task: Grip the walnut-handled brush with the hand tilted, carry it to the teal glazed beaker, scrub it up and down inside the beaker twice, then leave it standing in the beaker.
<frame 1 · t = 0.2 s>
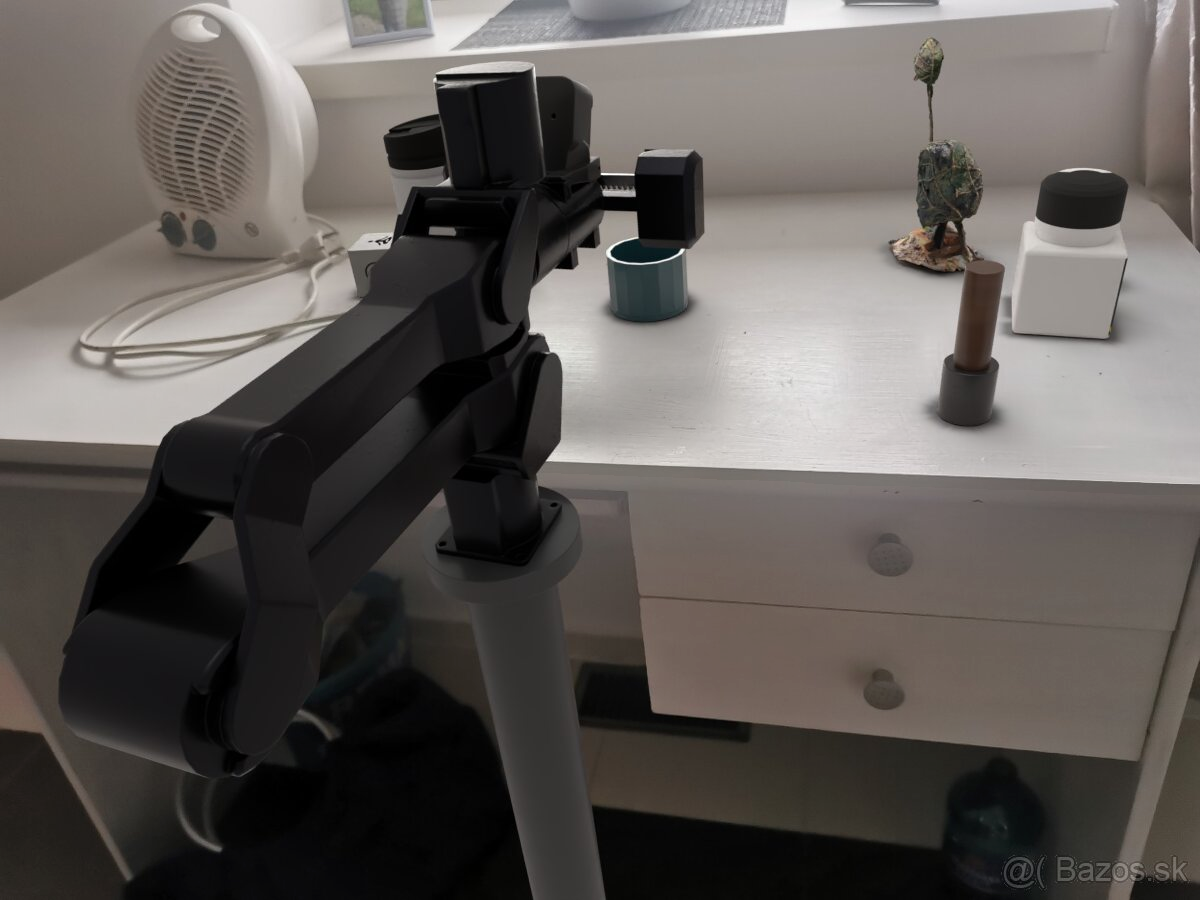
hand: (612, 165, 70), 16 cm above the table, tool horizontal, fingers open, 9 cm apart
rook chess piece: (1088, 285, 81), on the table
beaker: (649, 305, 86), on the table
dice cube: (389, 288, 96), on the table
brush: (963, 413, 65), on the table
plant with pod: (936, 262, 88), on the table
travel mug: (465, 348, 82), on the table
medicine bottle: (1057, 321, 76), on the table
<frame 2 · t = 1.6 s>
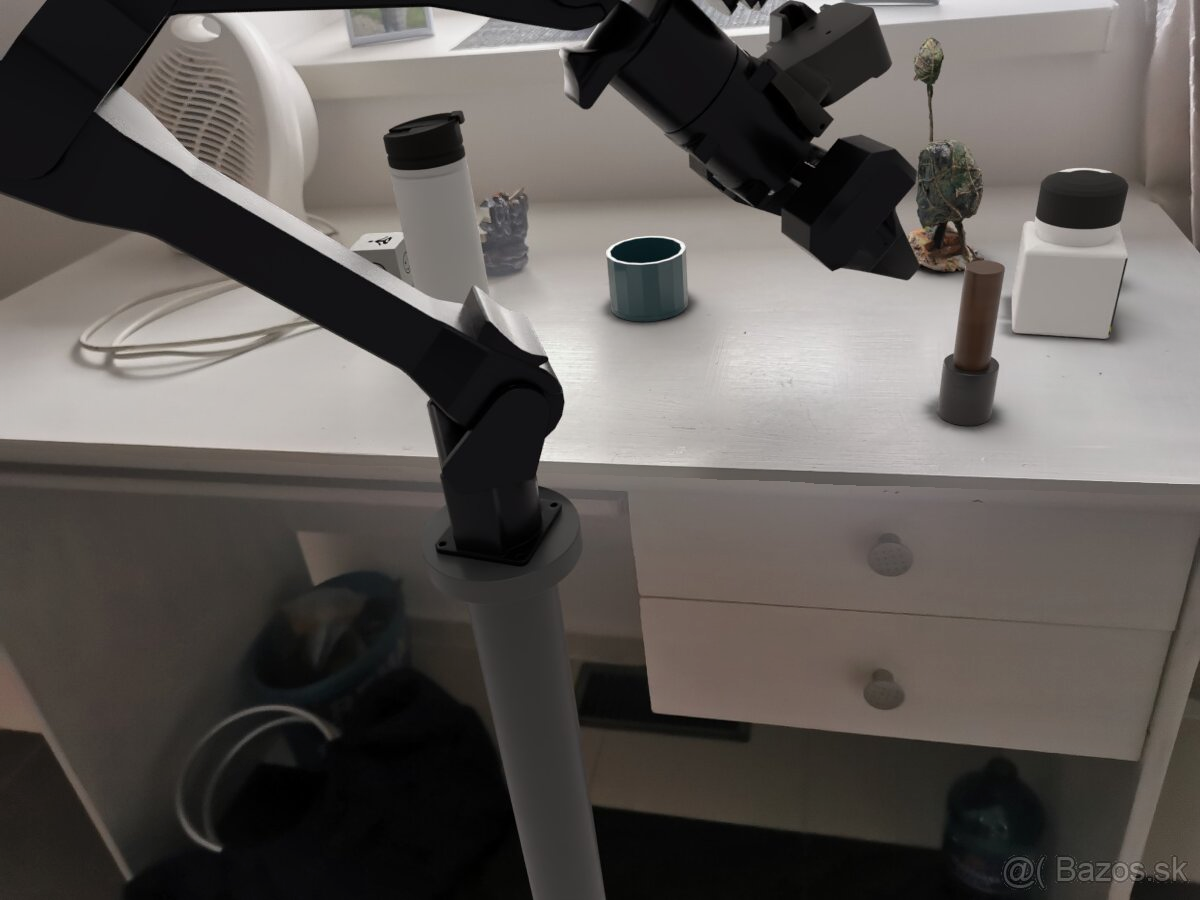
hand: (872, 247, 56), 14 cm above the table, tool tilted 45°, fingers open, 9 cm apart
nothing on the table moved.
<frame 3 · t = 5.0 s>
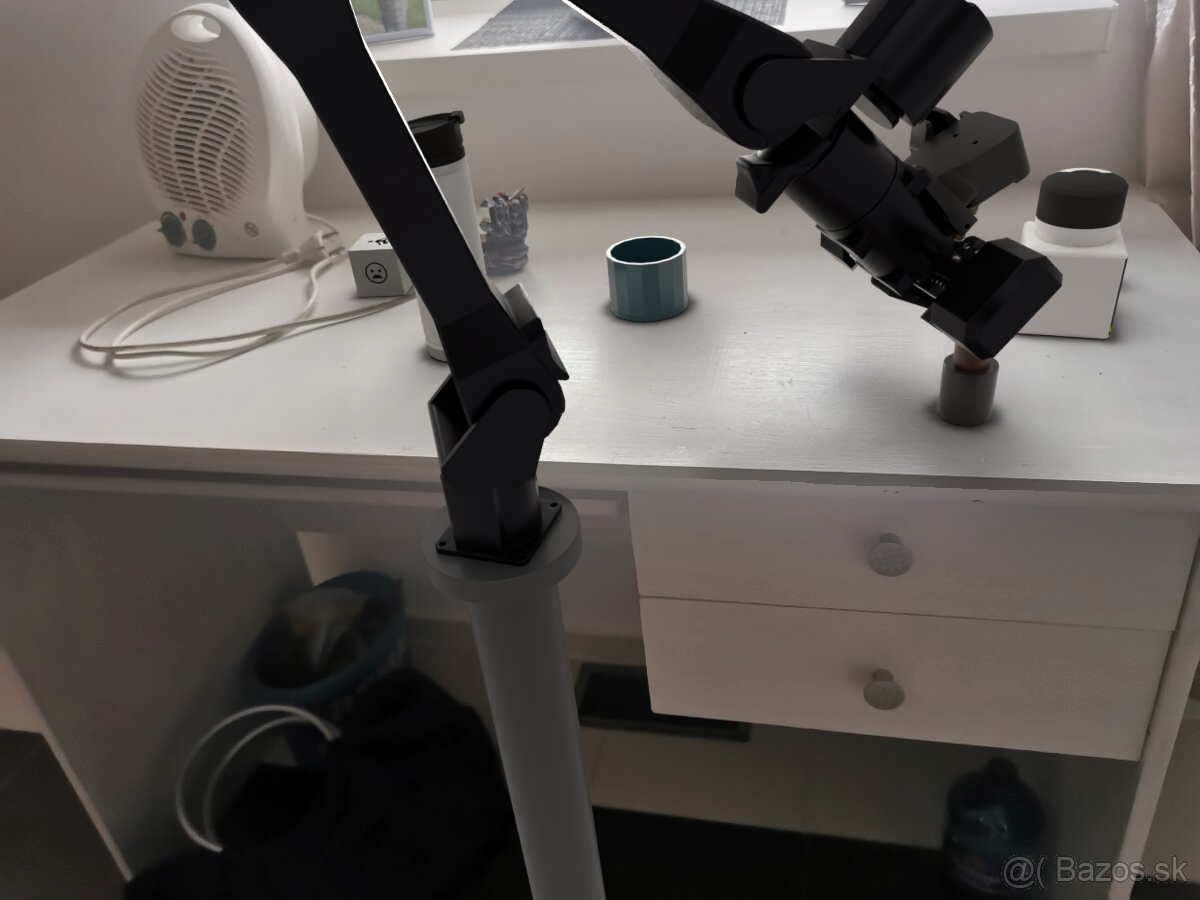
hand: (994, 325, 61), 7 cm above the table, tool tilted 45°, fingers closed on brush, 2 cm apart
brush: (963, 412, 65), on the table, touching gripper
everything else where it was.
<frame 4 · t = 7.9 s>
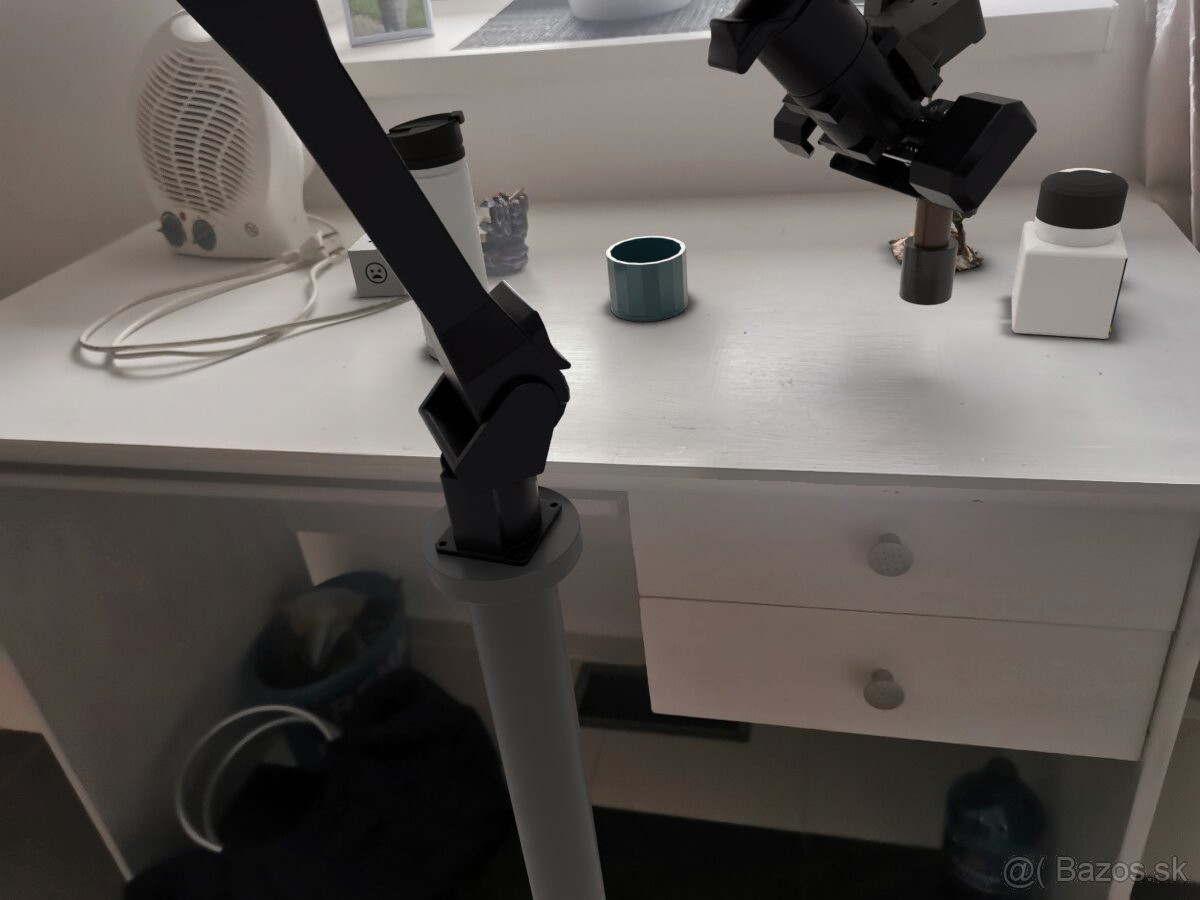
hand: (950, 201, 62), 14 cm above the table, tool tilted 45°, fingers closed on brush, 2 cm apart
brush: (925, 295, 66), point 7 cm above the table, touching gripper
everything else where it was.
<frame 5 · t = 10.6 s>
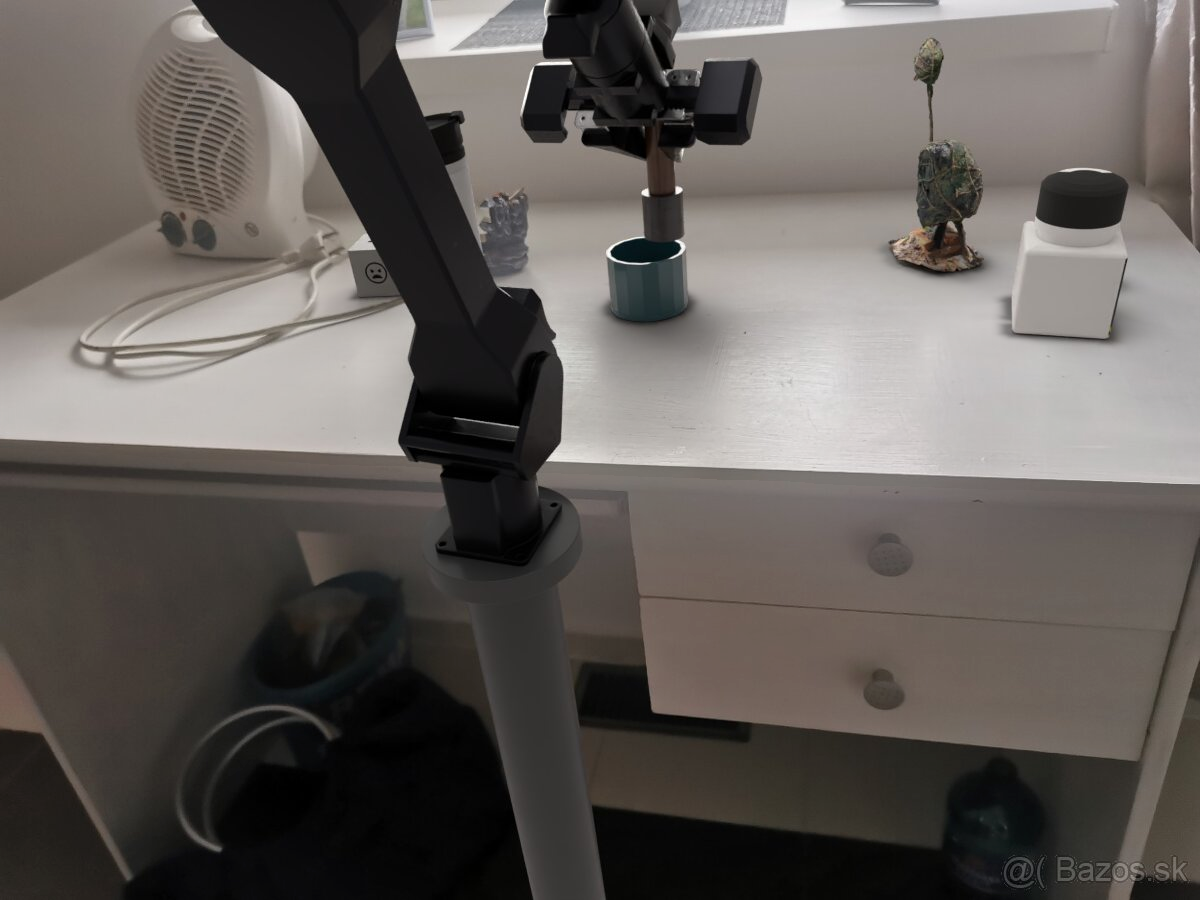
hand: (665, 157, 79), 13 cm above the table, tool tilted 45°, fingers closed on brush, 2 cm apart
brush: (664, 235, 81), point 7 cm above the table, touching gripper
everything else where it was.
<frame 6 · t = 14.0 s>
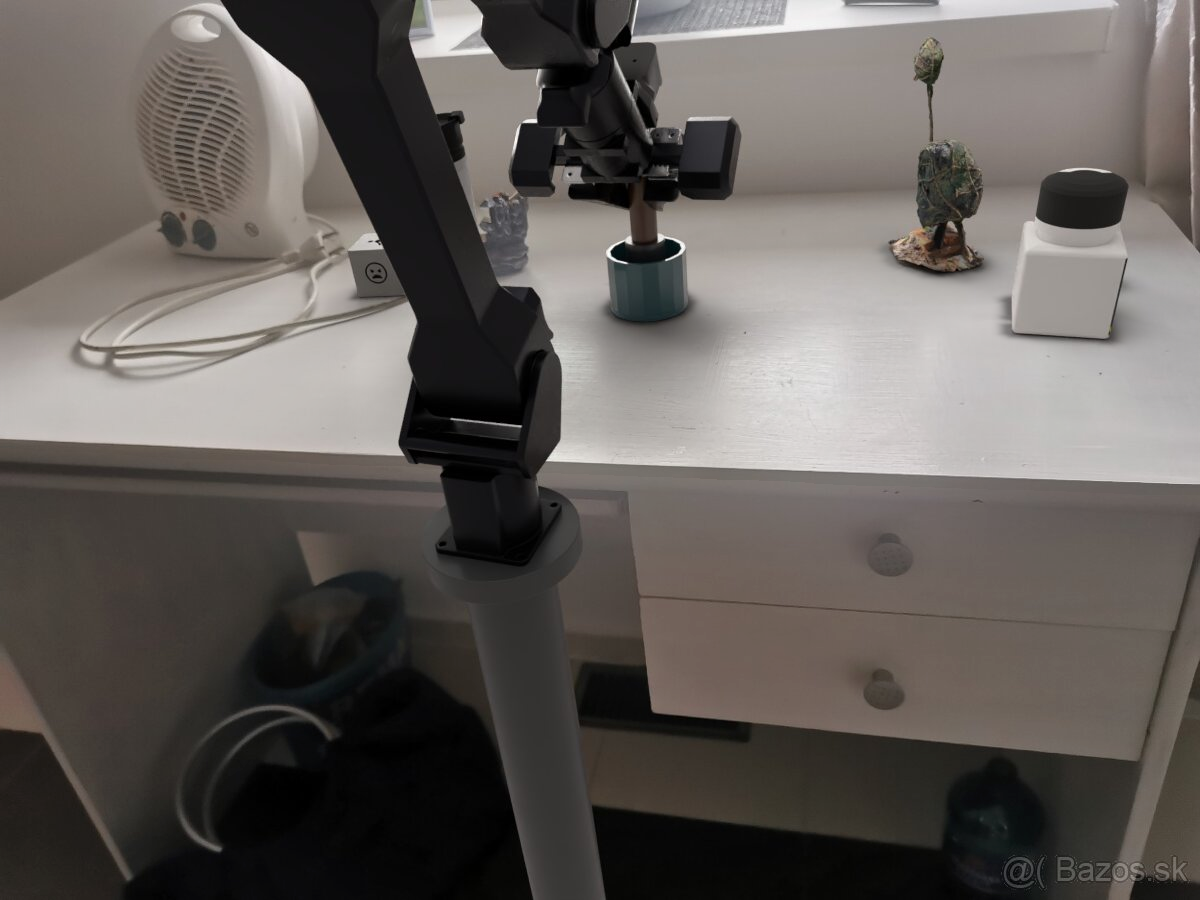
hand: (647, 206, 82), 9 cm above the table, tool tilted 45°, fingers closed on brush, 2 cm apart
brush: (647, 280, 84), point 3 cm above the table, touching gripper
everything else where it was.
when the fingers open (7 cm above the table, at t = 16.4 s): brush stays where it is, resting on beaker.
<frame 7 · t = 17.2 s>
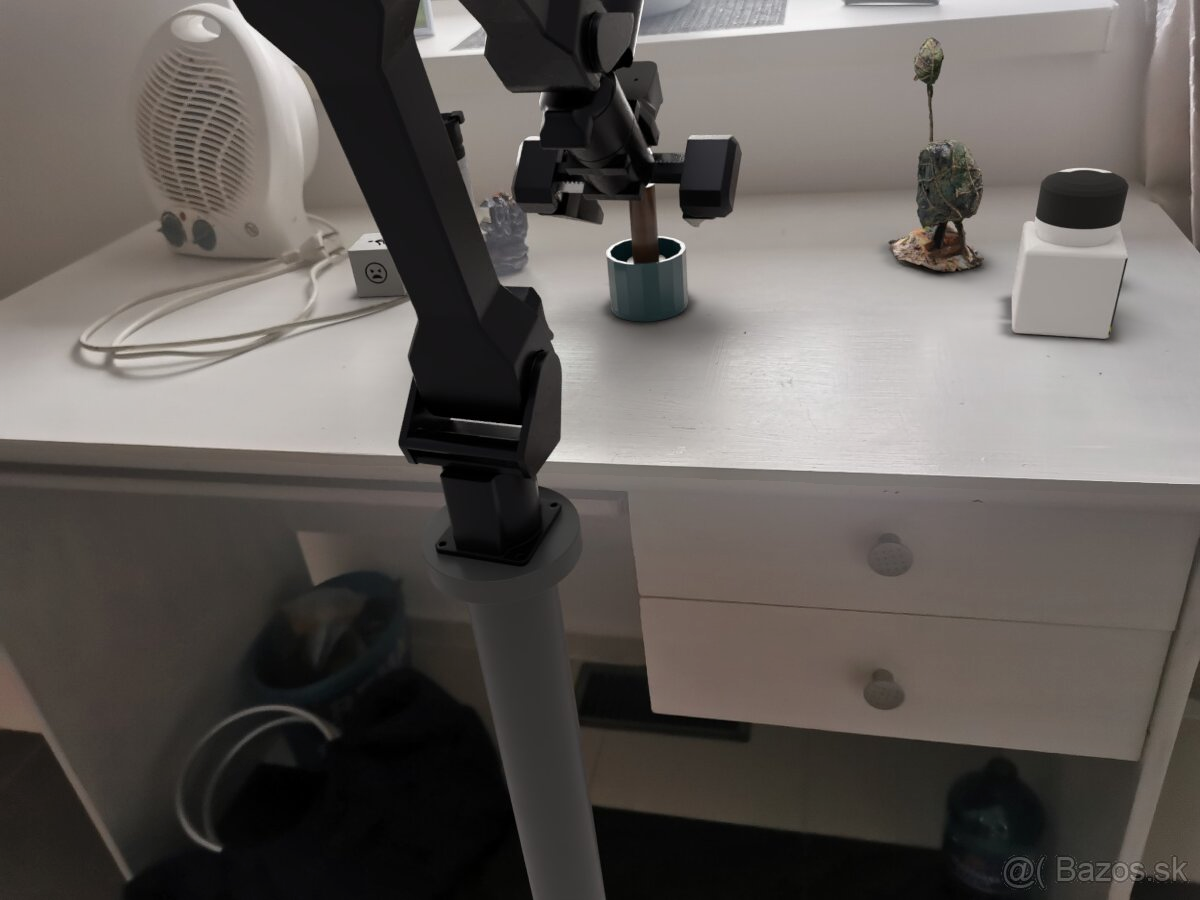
hand: (648, 220, 83), 8 cm above the table, tool tilted 45°, fingers open, 9 cm apart
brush: (648, 300, 85), resting on beaker
everything else where it was.
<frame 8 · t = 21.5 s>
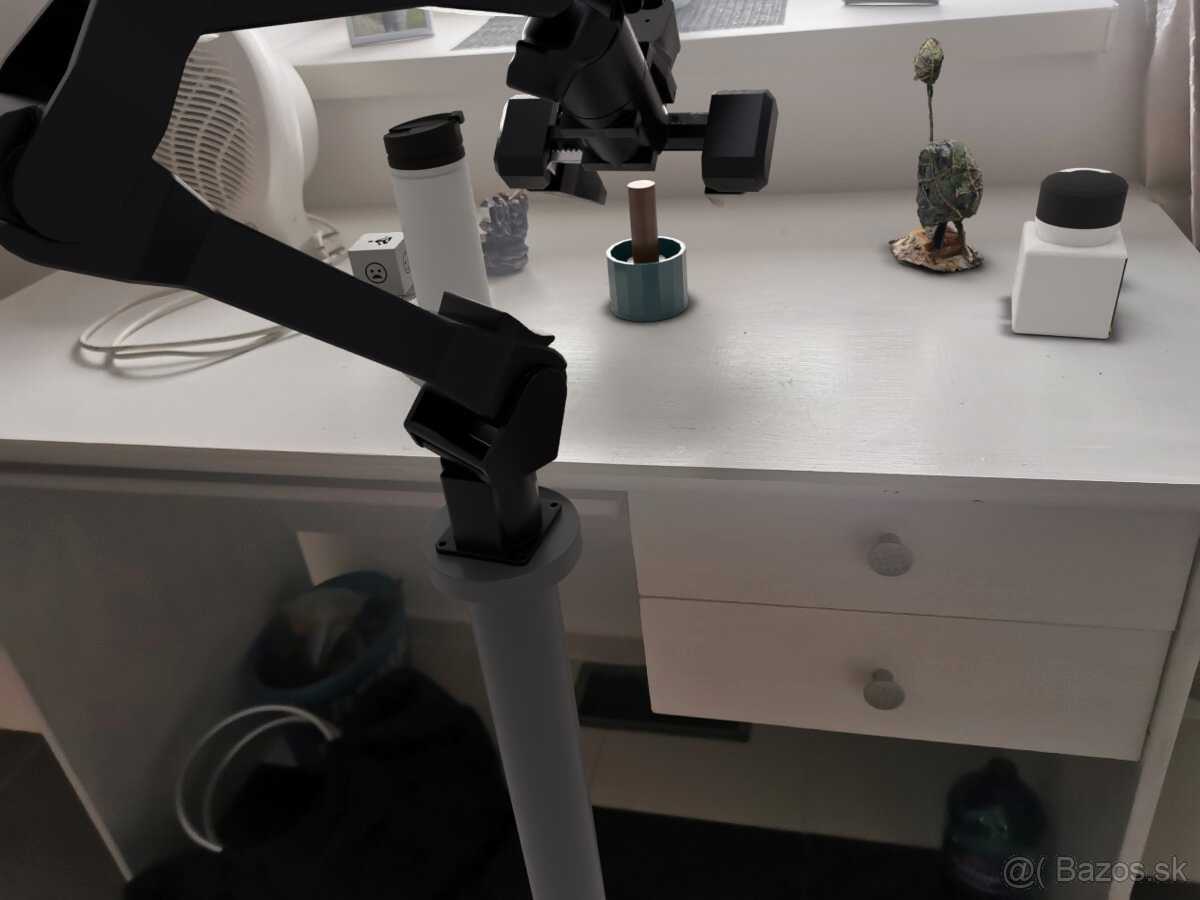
hand: (661, 199, 68), 14 cm above the table, tool tilted 45°, fingers open, 9 cm apart
nothing on the table moved.
at the end: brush 0.0 cm off-centre in the beaker, point 0.5 cm above the beaker's base; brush tilted 0°; the gripper is holding nothing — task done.
